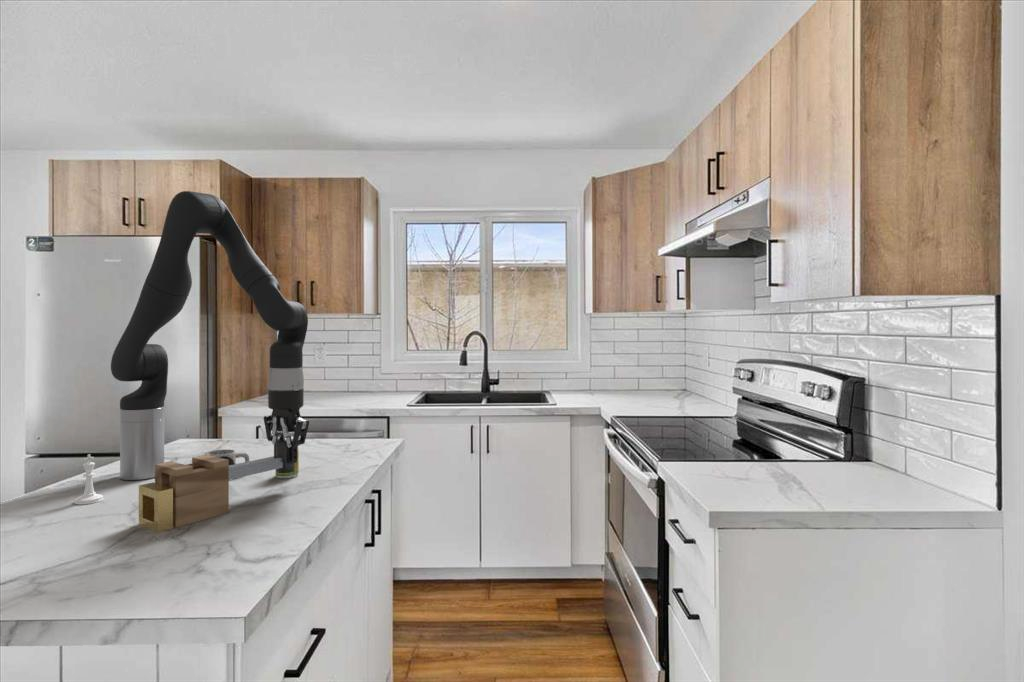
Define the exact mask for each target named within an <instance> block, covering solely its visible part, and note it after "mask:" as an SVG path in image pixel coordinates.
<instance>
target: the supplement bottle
mask: <svg viewBox="0 0 1024 682" xmlns="http://www.w3.org/2000/svg"><path fill="white" fill-rule="evenodd" d="M285 439H286V438H285ZM291 439H293V436H291ZM299 455H300V454H299V448H298V459H297V462H296V463H295V471H294V472H290V473H277V472H276V471H275V477H276V478H277V479H292V478H295V477H297V476H298V475H299V465H300V464H299V460H300V459H299V458H300V457H299Z"/></svg>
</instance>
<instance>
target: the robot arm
mask: <svg viewBox="0 0 1024 682" xmlns="http://www.w3.org/2000/svg"><path fill="white" fill-rule="evenodd" d="M197 234H205V235H210V236H212V237H213V238H214V239H215V240H217V242H218V243H219V244H220V245H221V246H222V248H223V249H224V250H225V252H226V255H227V259H228V264H229V267H230V268H229V269H230V271H231V273H232V276H233V277H234V280H236V282H237V283H238V284H239V286H241V287H242V289H243V290H244V292H245V293H246V294H247V295H248V297H250V298H251V300H252V303H253V304H254V306H255V308H256V311H257V313H258V314H259V316H260V318H261V319H262V321H263V322H264V323H265V324H266V325H267V326H268V327H269V328H271V329H272V330H274V331H278V334H277V339H276V341H275V342H273V343H271V345H270V348H269V371H268V379H267V381H268V387H267V407H268V408H269V409H270V410H272V411H271V414H270V415H264V416H263V424H264V426H265V427H264V428H265V434H266V438H267V439H266V440H267V441H268V442H271V444H272V445H273V456H276V441H278V440H283V439H285V438H286V441H287V446H288V447H287V463H288V464H292V463H296V462H297V459H298V449H299V446H300V445H304V444H305V442H306V438H307V434H308V430H309V426H310V421H309V419H303V418H302V417H301V412H300V410H301V409H302V408H303V407H304V401H305V400H304V396H305V395H304V379H305V378H304V371H303V370H304V369H303V358H304V356H303V347H304V344H305V341H306V338H307V337H306V336H307V331H308V325H309V317H308V312H307V310H306V307H304V305H302V304H301V303H300V302H297V301H292V300H287V299H286V298H285V297H284V295H283V294H282V292H281V291H280V290H281V285H280V283H279V281H278V280H277V278H276V277H275V276H274V274H273V273H272V272H271V271H270V270H269V268H268V267H267V266H266V265H265V264H264V263H263V261H262V260H261V258H260V257H259V256H258V255H257V254H256V252H255V251H254V249H253V248H252V246H251V244H250V243H249V242H248V240H247V238H246V236H245V235H244V233H243V231H242V230H241V228H240V226H239V224H238V223H237V221H236V220H235V218H234V216H233V214H232V212H231V210H230V209H229V208H228V206H227V205H226V204H225V203H224V201H223V200H222V199H221V198H219V197H218V196H216V195H214V194H210V193H203V192H199V191H198V192H197V191H190V190H189V191H188V190H185V191H184V190H183V191H180V192H178V193H177V194H175V195H174V197H173V198H172V200H171V201H170V203H169V206H168V209H167V212H166V216H165V221H164V225H163V229H162V231H161V236H160V240H159V244H158V246H157V249H156V252H155V255H154V259H153V261H152V263H151V266H150V269H149V271H148V273H147V275H146V278H145V279H144V280H145V281H144V284H143V286H142V287H141V291H140V295H139V297H138V300H137V303H136V306H135V308H134V310H133V312H132V315H131V318H130V320H129V322H128V324H127V326H126V328H125V330H124V331H123V333H122V336H121V337H120V339H119V340H118V342H117V345H116V346H115V348H114V351H113V354H112V357H111V361H110V371H111V375H112V377H113V378H114V379H115V380H118V381H120V382H127V383H128V382H141V384H140V386H139V387H138V388H137V389H135V390H134V391H132V392H131V393H128V394H125V395H124V396H122V397H120V401H119V459H120V460H119V478H120V479H121V480H122V481H123V480H124V481H139V480H147V479H154V478H155V464H159V463H165V400H166V398H167V397H166V396H167V392H168V391H167V390H168V375H169V358H168V353H167V351H166V349H165V348H164V347H163V346H162V345H161V344H156V343H148V342H149V341H150V339H151V338H152V336H153V335H155V333H156V332H158V331H159V330H160V329H162V328H163V327H164V326H165V325H167V324H168V323H170V322H171V321H172V320H173V319H174V318H175V317H177V315H178V314H179V313H180V312H181V311H182V310H183V308H184V307H185V304H186V302H187V299H188V297H189V294H190V292H191V289H192V285H193V281H192V280H193V279H192V272H191V268H190V265H189V260H188V257H189V252H190V249H191V245H192V243H193V241H194V239H195V236H196V235H197ZM291 437H293V441H292V440H291Z"/></svg>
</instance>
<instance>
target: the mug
mask: <svg viewBox="0 0 1024 682" xmlns="http://www.w3.org/2000/svg"><path fill="white" fill-rule="evenodd" d="M204 455H210V456H215V457H219V458H223V459H228V460H229V465H234V464H236V459H237V458H244V462H248V461H250V456H249V453H247V452H236V450H235V449H227V448H226V449H216V450H215V449H213V450H210V451H206V452H205V453H204ZM232 480H233V479H231V480H230V481H232Z"/></svg>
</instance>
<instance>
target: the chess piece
mask: <svg viewBox="0 0 1024 682" xmlns="http://www.w3.org/2000/svg"><path fill="white" fill-rule="evenodd" d="M83 460H84V461H87V462H84V463H83V464H82V466H83V468H84V471H85V473H84V474H82V477H84V478H85V479H86V480H85V485H84V491H83V492H84V493H82V495H81V496H78V497H76V498H75V499H74V505H81V506H83V505H90V504H96V503H99V502H102V501H103V500H104V499H105V498H104V496H103V494H99V493H97V492H96V491H95V489H94V482H93V477H94V476H96V473H95V472H93V470H94V467H95V465H96V463H95V462H93V461H91V460H95V457H94V456H91V453H90V454H87V457H84V458H83Z"/></svg>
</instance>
